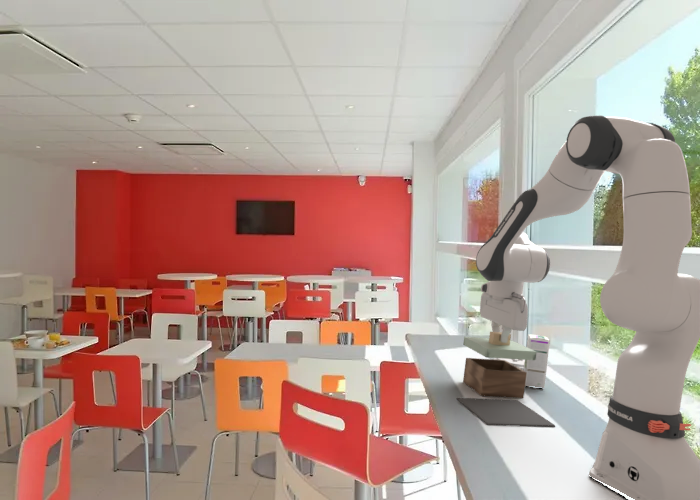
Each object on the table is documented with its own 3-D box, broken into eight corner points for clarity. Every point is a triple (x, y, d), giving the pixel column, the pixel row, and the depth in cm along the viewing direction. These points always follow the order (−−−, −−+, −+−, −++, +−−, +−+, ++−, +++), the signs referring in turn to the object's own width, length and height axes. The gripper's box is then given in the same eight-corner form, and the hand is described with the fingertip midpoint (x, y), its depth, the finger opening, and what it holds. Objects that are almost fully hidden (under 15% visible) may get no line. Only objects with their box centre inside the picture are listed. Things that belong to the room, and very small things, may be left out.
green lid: (535, 360, 147) (538, 340, 147) (486, 357, 144) (488, 337, 143) (508, 347, 161) (511, 329, 160) (463, 344, 157) (465, 326, 157)
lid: (506, 378, 168) (508, 362, 167) (485, 366, 180) (487, 351, 179) (542, 380, 171) (544, 364, 171) (519, 368, 183) (521, 353, 183)
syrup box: (544, 390, 159) (551, 340, 158) (523, 386, 160) (529, 336, 159) (541, 384, 165) (548, 336, 164) (521, 381, 166) (527, 333, 165)
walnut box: (523, 398, 149) (526, 372, 148) (482, 396, 146) (485, 370, 145) (501, 383, 160) (504, 360, 160) (462, 382, 157) (466, 357, 157)
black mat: (554, 426, 128) (555, 425, 128) (487, 424, 124) (487, 423, 124) (517, 401, 145) (517, 400, 145) (456, 399, 141) (456, 397, 141)
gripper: (536, 296, 142) (530, 350, 143) (498, 286, 162) (492, 333, 162) (514, 294, 141) (507, 348, 141) (478, 284, 160) (472, 332, 161)
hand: (499, 340), depth 152 cm, fingers closed on green lid, 2 cm apart
